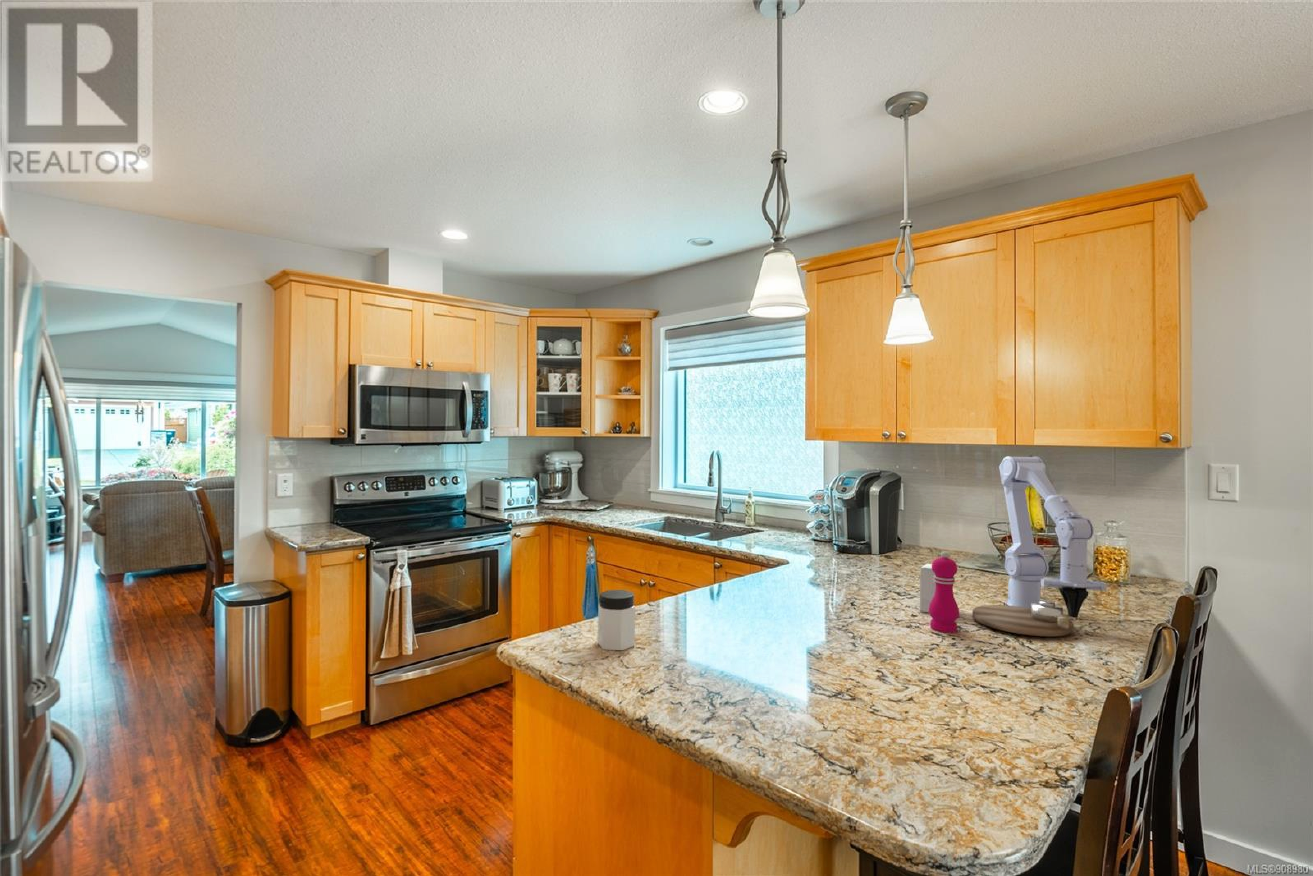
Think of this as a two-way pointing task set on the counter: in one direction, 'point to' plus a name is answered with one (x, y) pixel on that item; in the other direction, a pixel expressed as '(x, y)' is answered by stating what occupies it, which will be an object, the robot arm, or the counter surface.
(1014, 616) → the turntable top
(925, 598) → the supplement box
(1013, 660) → the counter surface
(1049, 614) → the aluminium cover
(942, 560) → the pepper mill
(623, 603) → the jar
